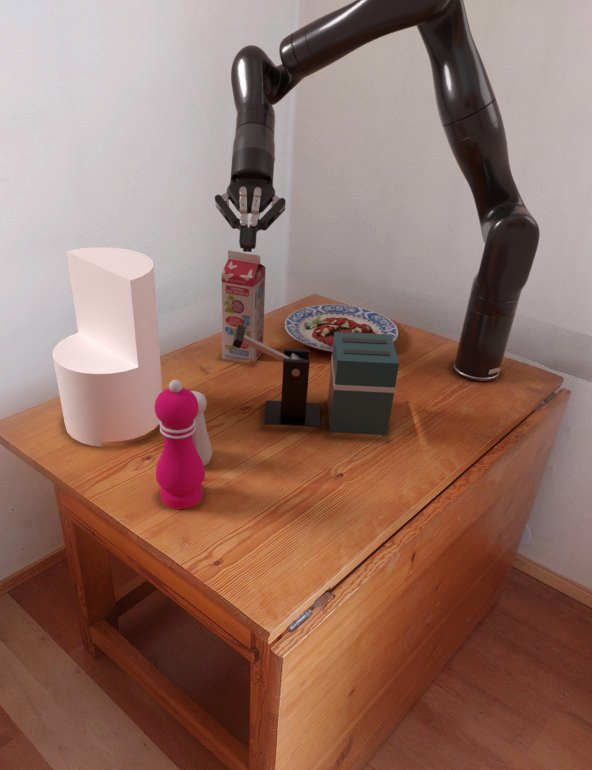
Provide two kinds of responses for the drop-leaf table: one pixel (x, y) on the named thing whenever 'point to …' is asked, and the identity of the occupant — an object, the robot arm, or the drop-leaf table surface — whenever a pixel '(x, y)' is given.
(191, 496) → the pepper mill
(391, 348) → the toaster
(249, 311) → the juice carton
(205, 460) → the salt shaker
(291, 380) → the bracket
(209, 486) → the drop-leaf table surface
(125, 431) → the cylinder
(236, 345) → the lever
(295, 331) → the ceramic plate
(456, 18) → the robot arm
